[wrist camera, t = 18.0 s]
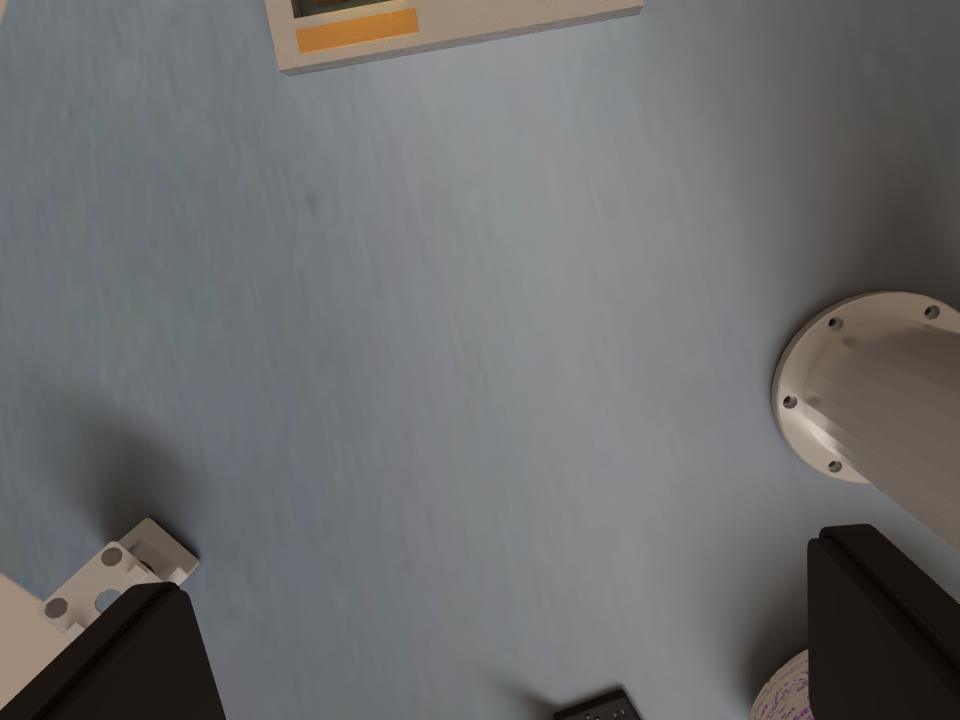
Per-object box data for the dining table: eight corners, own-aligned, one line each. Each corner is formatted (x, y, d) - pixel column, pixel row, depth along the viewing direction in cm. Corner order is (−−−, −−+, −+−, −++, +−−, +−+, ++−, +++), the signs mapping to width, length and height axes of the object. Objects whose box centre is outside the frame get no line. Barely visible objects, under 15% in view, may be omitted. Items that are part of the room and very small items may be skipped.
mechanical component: (110, 555, 45) (-2, 648, 35) (170, 493, 43) (68, 574, 34) (163, 599, 46) (66, 703, 36) (223, 540, 44) (139, 633, 34)
